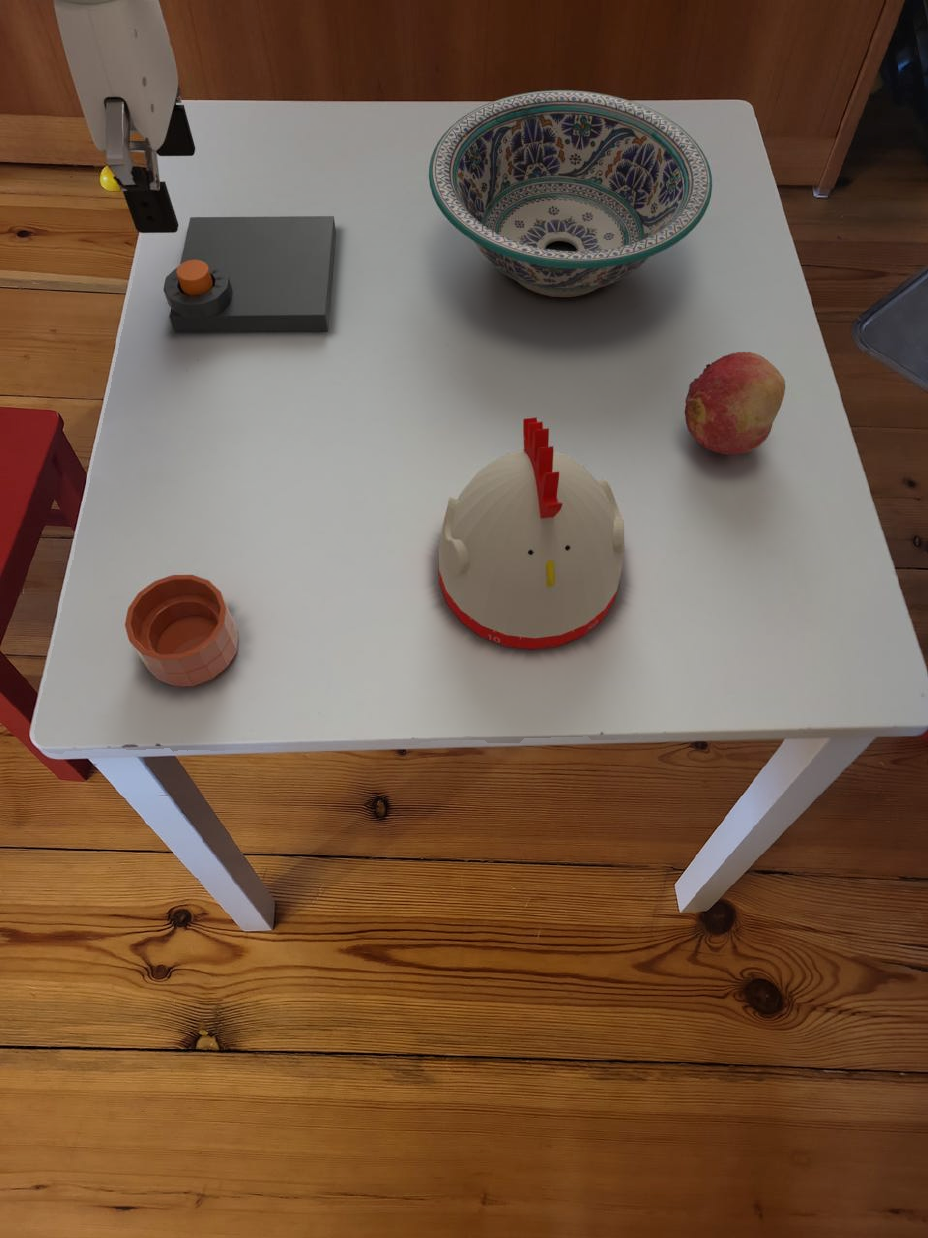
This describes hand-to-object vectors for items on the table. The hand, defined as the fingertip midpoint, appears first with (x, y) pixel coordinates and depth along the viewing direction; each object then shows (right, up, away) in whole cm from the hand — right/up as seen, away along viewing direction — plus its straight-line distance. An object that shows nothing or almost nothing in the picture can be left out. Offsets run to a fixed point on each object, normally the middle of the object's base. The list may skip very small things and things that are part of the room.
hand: (168, 190), depth 73 cm
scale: (+4, -2, +14) cm, 14 cm away
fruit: (+46, -19, +4) cm, 50 cm away
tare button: (0, -5, +9) cm, 10 cm away
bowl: (+33, 0, +15) cm, 37 cm away
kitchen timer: (+29, -31, -3) cm, 42 cm away
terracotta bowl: (+4, -37, -7) cm, 37 cm away
